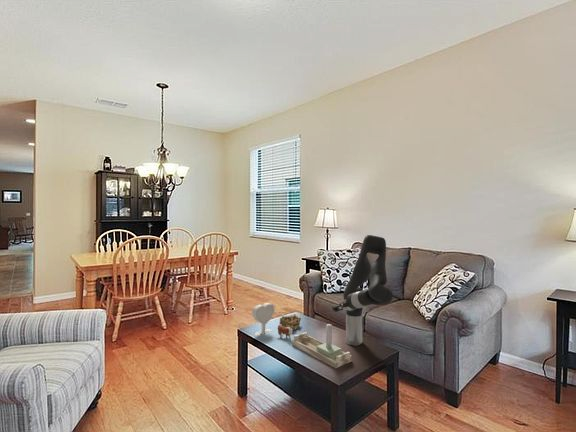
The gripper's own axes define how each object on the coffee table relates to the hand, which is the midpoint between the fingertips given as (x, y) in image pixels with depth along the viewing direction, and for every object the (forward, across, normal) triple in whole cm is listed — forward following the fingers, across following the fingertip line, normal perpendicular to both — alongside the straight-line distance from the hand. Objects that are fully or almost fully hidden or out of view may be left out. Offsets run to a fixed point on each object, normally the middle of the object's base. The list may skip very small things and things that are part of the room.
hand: (339, 305), depth 167 cm
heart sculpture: (+61, +20, 0) cm, 65 cm away
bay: (+22, +10, +21) cm, 32 cm away
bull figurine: (+47, +14, +8) cm, 50 cm away
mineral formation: (+61, 0, +6) cm, 61 cm away
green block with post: (+16, +9, +22) cm, 29 cm away
